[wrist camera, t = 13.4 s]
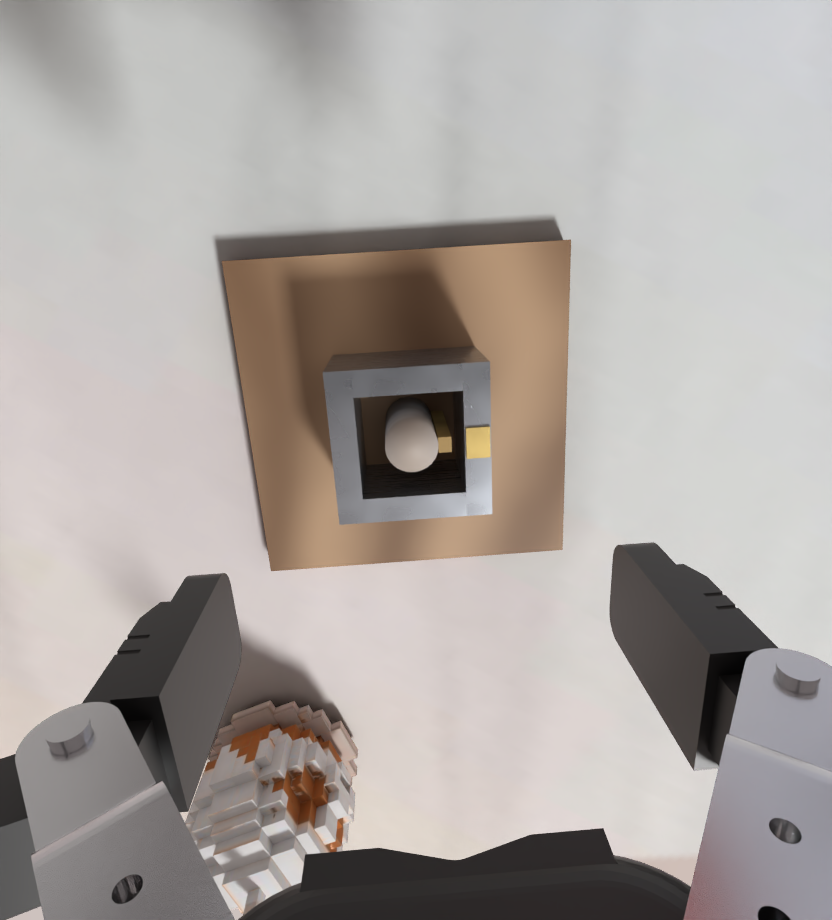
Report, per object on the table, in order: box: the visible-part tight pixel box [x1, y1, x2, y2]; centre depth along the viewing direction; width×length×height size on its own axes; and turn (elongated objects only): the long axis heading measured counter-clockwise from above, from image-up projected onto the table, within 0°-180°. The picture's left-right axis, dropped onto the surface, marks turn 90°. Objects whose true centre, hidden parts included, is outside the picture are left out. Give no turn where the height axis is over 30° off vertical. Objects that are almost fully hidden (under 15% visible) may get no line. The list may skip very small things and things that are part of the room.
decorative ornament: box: [185, 700, 358, 915], centre depth 26 cm, size 8×8×15 cm
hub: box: [323, 346, 492, 525], centre depth 24 cm, size 6×6×4 cm
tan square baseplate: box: [222, 240, 571, 571], centre depth 24 cm, size 14×14×5 cm
